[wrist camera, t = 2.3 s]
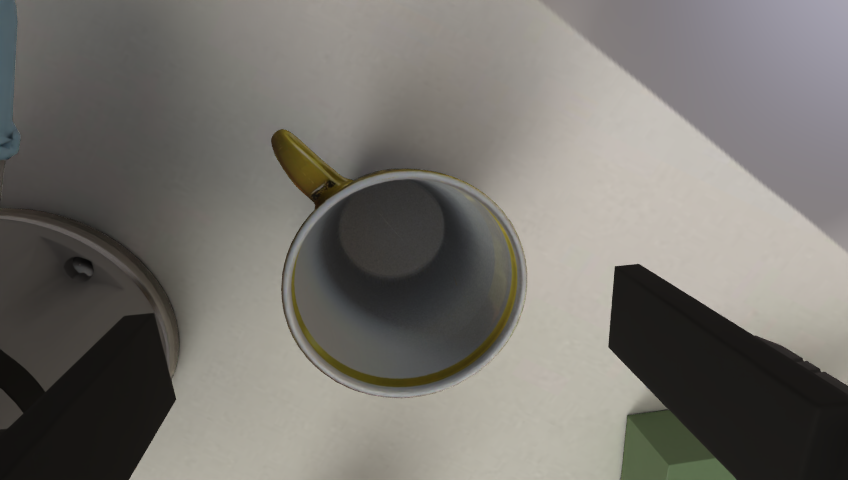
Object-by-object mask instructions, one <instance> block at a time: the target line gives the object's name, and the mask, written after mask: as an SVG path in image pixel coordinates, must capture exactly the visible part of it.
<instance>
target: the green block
mask: <svg viewBox="0 0 848 480" xmlns="http://www.w3.org/2000/svg"><path fill="white" fill-rule="evenodd" d="M621 480H737V479H736V478H735V477H734V476H733V475H732V474H731V473H730V472H729V471H728V470H727V469H726V468H725V467H724V466H723V465H722V464H721V463H720V462H719V461H718V460H717V459H716V458H715V457H714V456H713V455H712V454H711V453H710V452H709V451H708V450H707V448H706V447H705V446H704V445H703V444H702V443H701V442H700V441H699V440H698V439H697V438H696V437H695V436H694V435H693V434H692V433H691V432H690V431H689V430H688V429H687V428H686V427H685V426H684V425H683V424H682V423H681V422H680V421H679V420H678V419H677V417H676V416H675V415H674V414H673V413H672V412H671V411H670V410H663V411H656V412H649V413H642V414H634V415H628V416H627V426H626V435H625V445H624V454H623V464H622V473H621Z"/></svg>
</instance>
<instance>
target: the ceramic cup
mask: <svg viewBox="0 0 848 480" xmlns="http://www.w3.org/2000/svg"><path fill="white" fill-rule="evenodd" d="M271 143H272V147H273V150H274V153H275V156H276V158H277V160H278V161H279V163H280V165H281V166H282V168H283V169H284V171H285V172H286V174H287V175H288V177H289V178H290V179H291V181H292V182H293V183H294V184H295V185H296V187H297V188H298V189H299V190H301V191H302V192H303V193H304V194H305V195H306V196H307V197H308V198H309V199H310V200H312V201H313V202H314V204H315V210H314V211H313V212H312V213H311V214H310V215H309V217H308V218H307V219H306V221H305V222H304V223H303V224H302V226H301V227H300V229H299V230H298V232H297V234H296V236H295V238H294V239H293V241H292V243H291V246H290V248H289V251H288V253H287V256H286V260H285V264H284V268H283V273H282V288H281V291H282V303H283V309H284V314H285V317H286V321H287V324H288V327H289V329H290V332H291V334H292V336H293V338H294V340H295V341H296V343H297V345H298V346H299V348H300V349H301V351H302V352H303V353H304V354H305V356H306V357H307V358H308V359H309V360H310V361H311V362H312V363H313V364H314V365H315V367H317V368H318V369H319V370H320V371H321V372H323V373H324V374H326V375H327V376H328V377H330V378H331V379H333V380H334V381H336V382H338V383H340V384H342V385H344V386H346V387H348V388H350V389H353V390H355V391H358V392H362V393H366V394H369V395H374V396H381V397H389V398H409V397H417V396H424V395H428V394H433V393H436V392H439V391H442V390H445V389H448V388H450V387H452V386H455V385H457V384H459V383H461V382H463V381H464V380H466V379H468V378H470V377H471V376H473V375H474V374H476V373H477V372H479V371H480V370H481V369H482V368H484V367H485V366H486V365H487V364H488V363H489V362H490V361H491V360H492V359H493V358H494V357H495V356H496V355H497V354H498V353H499V352H500V351H501V349H502V348H503V347H504V345H505V344H506V343H507V341H508V340H509V338H510V337H511V335H512V333H513V331H514V329H515V328H516V326H517V324H518V321H519V318H520V316H521V313H522V310H523V306H524V302H525V297H526V291H527V268H526V260H525V256H524V251H523V248H522V245H521V242H520V239H519V237H518V235H517V233H516V231H515V229H514V227H513V225H512V223H511V222H510V220H509V219H508V218H507V216H506V215H505V214H504V212H503V211H502V210H501V209H500V208H499V207H498V205H497V204H496V203H495V202H493V201H492V200H491V199H490V198H489V197H488V196H487V195H485V194H484V193H483V192H481V191H480V190H478V189H477V188H475V187H473V186H472V185H470V184H468V183H466V182H464V181H462V180H459V179H457V178H455V177H452V176H449V175H446V174H443V173H438V172H433V171H428V170H420V169H387V170H381V171H377V172H373V173H371V174H368V175H365V176H363V177H360V178H358V179H356V180H354V181H353V180H350V179H346V178H344V177H342V176H340V175H339V174H338V173H337V172H336V171H335V170H334V169H332V168H331V167H330V166H329V165H327V164H326V163H325V162H324V161H322V160H321V159H320V158H319V157H318V156H317V155H316V154H315V153H314V152H312V151H311V150H310V149H309V148H308V147H307V146H306V145H305V144H304V143H303V142H302V141H300V140H299V139H298V138H297V137H296V136H294V135H293V134H292V133H291V132H289V131H287V130H284V129H281V130H278V131H277V132H275V133H274V135H273V136H272V138H271Z"/></svg>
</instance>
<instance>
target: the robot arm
mask: <svg viewBox="0 0 848 480" xmlns="http://www.w3.org/2000/svg"><path fill="white" fill-rule="evenodd" d="M17 22H18V21H17V9H16V4H15V0H0V200H1V192H2V183H3V175H4V168H5V160H7V159H9V158H10V157H12V156H14V155H16V154H17V153H18V151H19V146H20V133H19V131H18V130H17V128H16V126H15V124H14V123H13V121H12V116H13V97H14V79H15V60H16V41H17ZM608 347H609V348H610V349H611V350H612V351H613V352H614V353H615V355H616V356H617V357H618V358H619V359H620V360H621V361H622V362H623V363H624V364H625V365H626V366H627V367H628V368H629V369H630V370H631V371H632V372H633V373H634V374H635V375H636V376H637V377H638V378H639V379H640V380H641V381H642V382H643V383H644V384H645V385H646V387H647V388H648V389H649V390H650V391H651V392H652V393H653V394H654V395H655V396H656V397H657V398H658V399H659V400H660V401H661V402H662V403H663V404H664V405H665V406H666V407H667V408H668V409H669V410H670V411H671V412H672V413H673V414H674V415H675V416H676V417H677V419H678V420H679V421H680V422H681V423H682V424H683V425H684V426H685V427H686V428H687V429H688V430H689V431H690V432H691V433H692V434H693V435H694V436H695V437H696V438H697V439H698V440H699V441H700V442H701V443H702V444H703V445H704V446H705V447H706V448H707V450H708V451H709V452H710V453H711V454H712V455H713V456H714V457H715V458H716V459H717V460H718V461H719V462H720V463H721V464H722V465H723V466H724V467H725V468H726V469H727V470H728V471H729V472H730V473H731V474H732V475H733V476H734V477H735V478H736V479H737V480H848V386H847V385H846V384H844V383H842V382H841V381H839V380H837V379H836V378H834V377H832V376H831V375H829V374H827V373H826V372H821V371H820V369H819V368H818V367H816V366H814V365H813V364H811V363H809V362H808V361H803V358H801V357H799V356H798V355H796V354H794V353H793V352H791V351H789V350H788V349H786V348H785V347H783V346H781V345H778V344H776V343H773V342H771V341H768V340H766V339H763V338H760V337H758V336H753V335H752V334H750V333H749V332H747V331H745V330H744V329H742V328H741V327H739V326H737V325H736V324H734V323H733V322H731V321H729V320H728V319H726V318H725V317H723V316H721V315H720V314H718V313H717V312H715V311H713V310H712V309H710V308H709V307H707V306H705V305H704V304H702V303H701V302H699V301H697V300H696V299H694V298H693V297H691V296H689V295H688V294H686V293H685V292H683V291H681V290H680V289H678V288H677V287H675V286H673V285H672V284H670V283H669V282H667V281H665V280H664V279H662V278H661V277H659V276H657V275H656V274H654V273H653V272H651V271H649V270H648V269H646V268H644V267H643V266H641V265H640V264H634V265H624V266H615V272H614V284H613V296H612V309H611V321H610V334H609V346H608ZM178 353H179V335H178V328H177V323H176V319H175V316H174V312H173V310H172V307H171V305H170V302H169V300H168V298H167V296H166V294H165V292H164V291H163V289H162V287H161V286H160V284H159V283H158V281H157V280H156V278H155V277H154V276H153V275H152V274H151V272H150V271H149V270H148V269H147V268H146V266H145V265H144V264H143V263H142V262H141V261H140V260H139V259H138V258H137V257H135V256H134V255H133V254H132V253H131V252H130V251H128V250H127V249H126V248H125V247H123V246H122V245H120V244H119V243H118V242H116V241H115V240H113V239H112V238H110V237H108V236H107V235H105V234H103V233H102V232H100V231H98V230H96V229H94V228H92V227H90V226H88V225H85V224H83V223H80V222H78V221H75V220H73V219H69V218H66V217H63V216H60V215H56V214H52V213H47V212H43V211H36V210H29V209H15V208H2V209H0V480H129V479H130V477H131V475H132V473H133V472H134V470H135V468H136V467H137V465H138V463H139V461H140V460H141V458H142V456H143V455H144V453H145V451H146V450H147V448H148V446H149V444H150V443H151V441H152V439H153V438H154V436H155V434H156V433H157V431H158V429H159V427H160V426H161V424H162V422H163V421H164V419H165V417H166V416H167V414H168V412H169V410H170V409H171V407H172V405H173V404H174V402H175V400H176V397H175V393H174V389H173V385H172V381H171V380H172V378H173V375H174V372H175V369H176V366H177V360H178Z"/></svg>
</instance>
